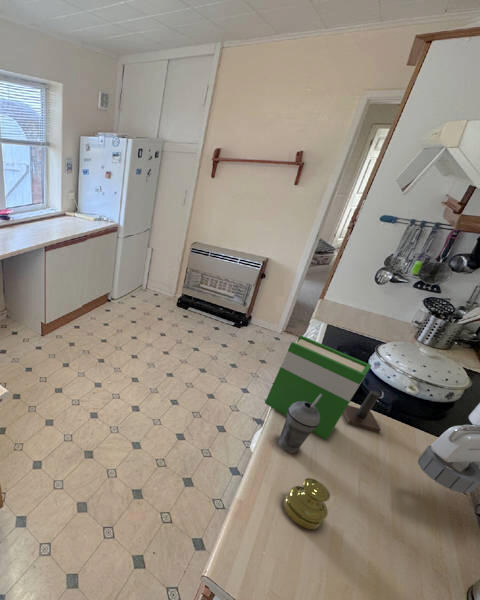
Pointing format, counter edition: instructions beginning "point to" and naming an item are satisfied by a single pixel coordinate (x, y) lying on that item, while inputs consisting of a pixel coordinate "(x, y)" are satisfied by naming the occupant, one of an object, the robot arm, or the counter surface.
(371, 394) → the peg stand
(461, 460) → the robot arm
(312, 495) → the brass knobbed weight
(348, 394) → the hardback book
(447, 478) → the grey faceted ring
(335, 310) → the counter surface
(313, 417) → the beverage cup
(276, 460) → the counter surface
